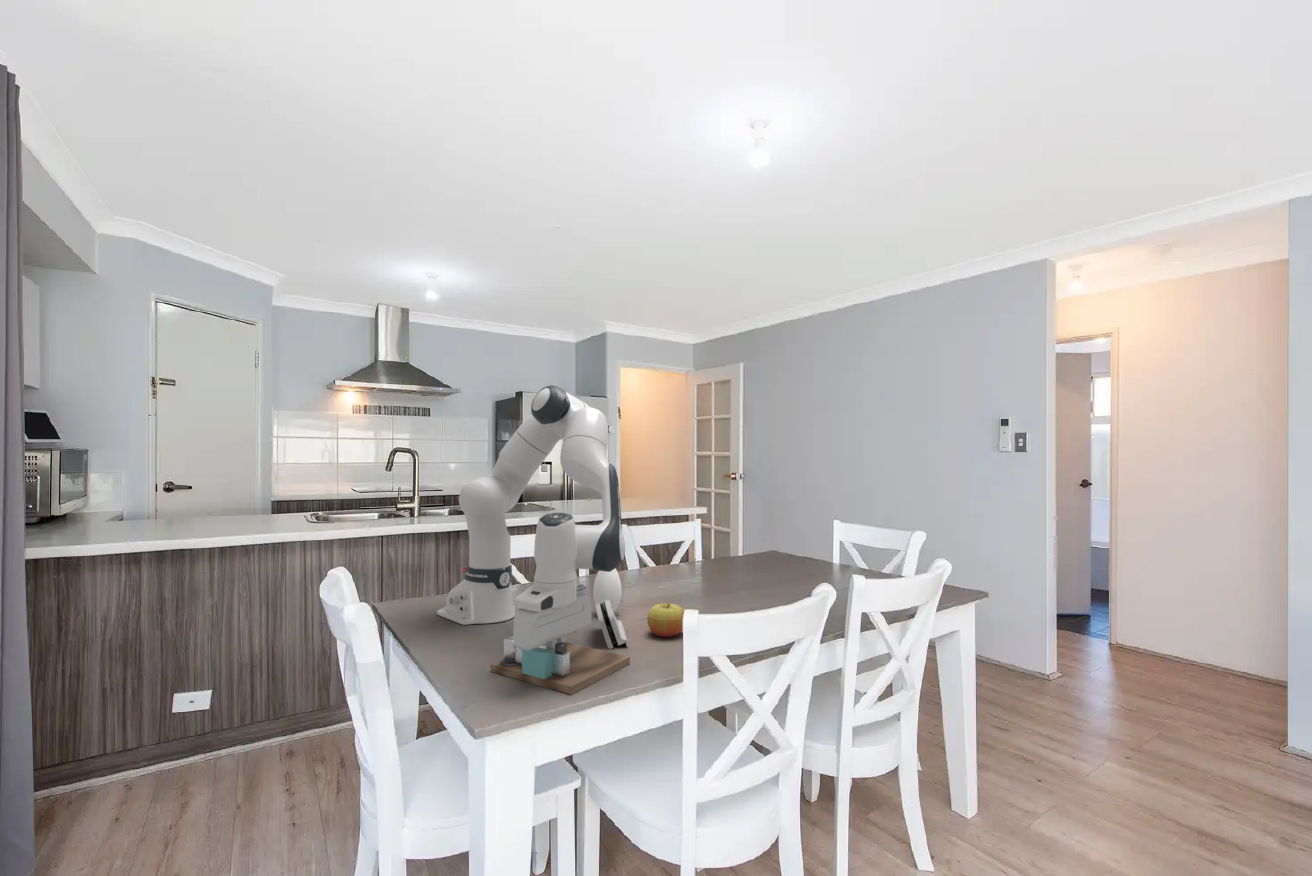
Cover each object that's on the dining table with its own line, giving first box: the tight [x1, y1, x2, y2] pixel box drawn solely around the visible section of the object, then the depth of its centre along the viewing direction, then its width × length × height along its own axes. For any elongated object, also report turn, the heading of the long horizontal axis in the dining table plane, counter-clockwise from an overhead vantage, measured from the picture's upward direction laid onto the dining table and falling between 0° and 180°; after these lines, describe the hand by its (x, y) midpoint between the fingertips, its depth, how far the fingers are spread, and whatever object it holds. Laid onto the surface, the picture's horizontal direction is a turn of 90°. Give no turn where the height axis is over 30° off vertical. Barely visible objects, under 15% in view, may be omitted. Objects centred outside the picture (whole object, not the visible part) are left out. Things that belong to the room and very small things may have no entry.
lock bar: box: [502, 635, 570, 675], centre depth 126 cm, size 17×4×6 cm, turn 57°
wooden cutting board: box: [490, 641, 631, 696], centre depth 131 cm, size 22×20×2 cm
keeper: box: [522, 647, 552, 679], centre depth 123 cm, size 6×2×5 cm, turn 58°
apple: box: [646, 602, 685, 638], centre depth 155 cm, size 10×10×8 cm
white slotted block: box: [595, 600, 630, 650], centre depth 152 cm, size 17×5×10 cm, turn 8°
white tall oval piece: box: [592, 567, 622, 612], centre depth 172 cm, size 8×8×18 cm
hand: (554, 658), depth 126 cm, fingers closed
